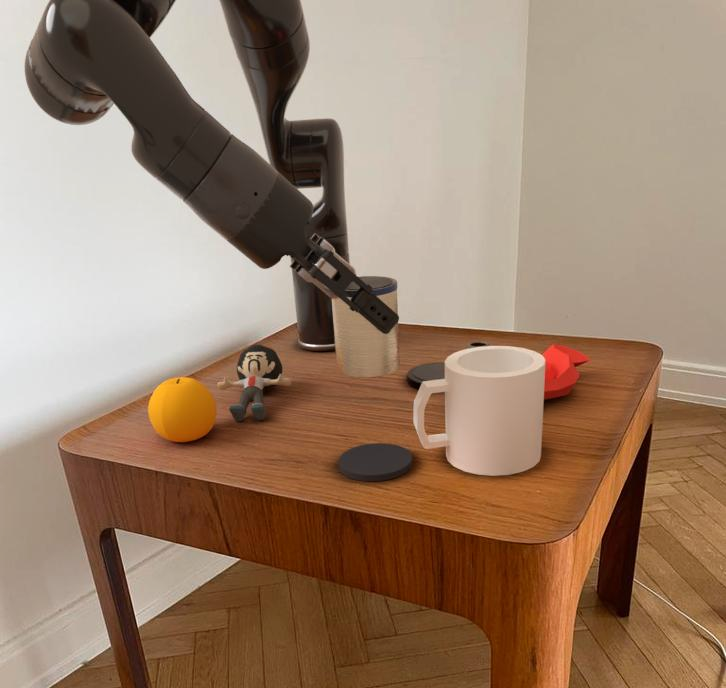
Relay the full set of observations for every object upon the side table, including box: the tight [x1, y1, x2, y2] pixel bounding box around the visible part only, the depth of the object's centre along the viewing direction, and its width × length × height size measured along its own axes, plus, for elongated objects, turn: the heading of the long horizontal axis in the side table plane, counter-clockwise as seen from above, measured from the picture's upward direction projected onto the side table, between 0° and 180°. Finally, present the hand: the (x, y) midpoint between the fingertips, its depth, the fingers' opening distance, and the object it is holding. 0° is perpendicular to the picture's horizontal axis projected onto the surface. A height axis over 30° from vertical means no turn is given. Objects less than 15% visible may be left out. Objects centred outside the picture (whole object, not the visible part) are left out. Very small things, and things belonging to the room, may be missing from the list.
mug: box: [412, 345, 546, 477], centre depth 79 cm, size 14×10×11 cm
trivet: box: [337, 442, 413, 482], centre depth 81 cm, size 8×8×1 cm
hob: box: [406, 361, 445, 391], centre depth 103 cm, size 9×9×1 cm
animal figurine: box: [541, 343, 592, 401], centre depth 97 cm, size 12×15×5 cm
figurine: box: [217, 343, 292, 422], centre depth 100 cm, size 10×7×15 cm
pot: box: [332, 275, 401, 379], centre depth 74 cm, size 6×6×9 cm
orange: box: [147, 376, 218, 443], centre depth 90 cm, size 8×8×8 cm
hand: (381, 317), depth 74 cm, fingers closed on pot, 6 cm apart
